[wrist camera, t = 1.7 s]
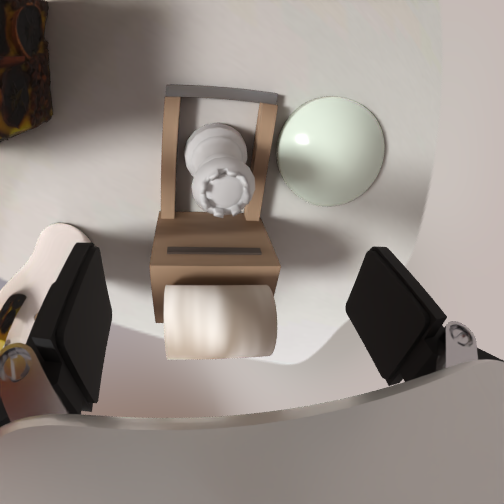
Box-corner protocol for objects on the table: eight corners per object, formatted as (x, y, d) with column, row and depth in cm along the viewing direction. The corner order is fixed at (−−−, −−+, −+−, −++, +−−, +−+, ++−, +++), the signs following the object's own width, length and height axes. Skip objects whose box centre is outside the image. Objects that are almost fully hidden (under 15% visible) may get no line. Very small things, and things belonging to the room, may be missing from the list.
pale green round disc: (287, 85, 18) (291, 86, 18) (388, 110, 20) (395, 113, 20) (267, 197, 23) (270, 202, 22) (362, 205, 25) (367, 210, 24)
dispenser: (164, 84, 17) (126, 98, 8) (278, 93, 19) (359, 122, 9) (161, 262, 25) (153, 376, 16) (250, 263, 27) (282, 370, 18)
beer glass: (96, 218, 21) (30, 380, 9) (105, 284, 25) (75, 435, 13) (28, 217, 20) (-58, 353, 8) (43, 279, 24) (-6, 413, 11)
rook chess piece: (256, 138, 20) (288, 175, 14) (227, 188, 22) (243, 246, 16) (201, 111, 19) (205, 134, 12) (174, 165, 20) (164, 215, 14)
